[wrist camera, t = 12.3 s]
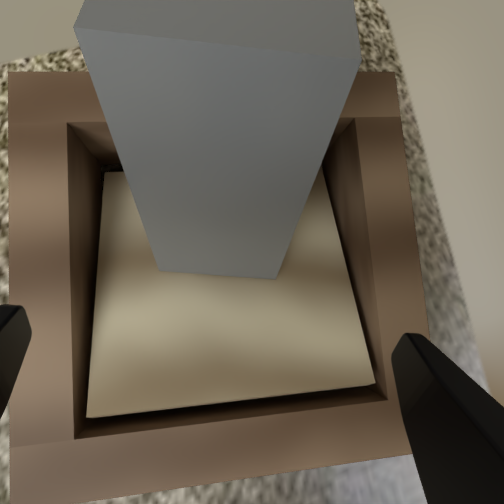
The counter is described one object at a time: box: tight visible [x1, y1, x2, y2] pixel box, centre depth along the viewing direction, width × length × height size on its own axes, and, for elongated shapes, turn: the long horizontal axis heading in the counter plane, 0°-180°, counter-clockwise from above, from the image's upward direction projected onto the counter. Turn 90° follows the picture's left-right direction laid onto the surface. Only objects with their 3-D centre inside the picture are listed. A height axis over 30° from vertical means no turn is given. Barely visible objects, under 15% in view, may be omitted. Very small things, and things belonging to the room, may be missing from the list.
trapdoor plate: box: [86, 165, 375, 418], centre depth 19 cm, size 13×13×1 cm
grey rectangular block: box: [73, 0, 362, 280], centre depth 14 cm, size 6×6×12 cm
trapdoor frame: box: [8, 72, 430, 504], centre depth 20 cm, size 19×19×6 cm
